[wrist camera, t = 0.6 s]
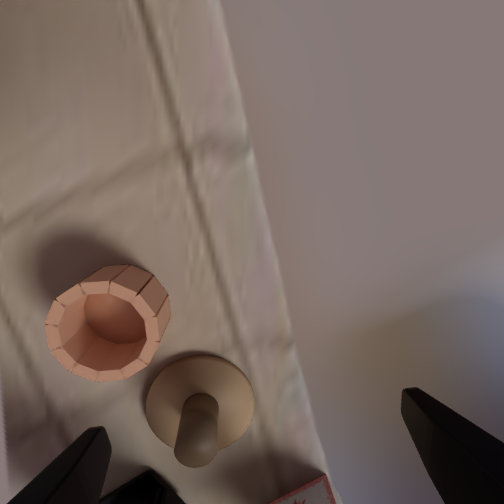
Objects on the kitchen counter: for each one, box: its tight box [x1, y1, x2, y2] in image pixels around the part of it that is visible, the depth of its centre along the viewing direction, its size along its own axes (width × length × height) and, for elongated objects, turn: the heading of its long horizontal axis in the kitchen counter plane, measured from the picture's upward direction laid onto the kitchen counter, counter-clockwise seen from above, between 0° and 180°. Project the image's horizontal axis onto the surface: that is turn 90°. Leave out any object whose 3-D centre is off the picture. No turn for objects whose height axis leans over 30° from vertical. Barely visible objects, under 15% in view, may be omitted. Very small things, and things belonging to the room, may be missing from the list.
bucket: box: [44, 265, 171, 382], centre depth 21 cm, size 7×7×4 cm
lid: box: [145, 355, 254, 468], centre depth 23 cm, size 9×9×5 cm
